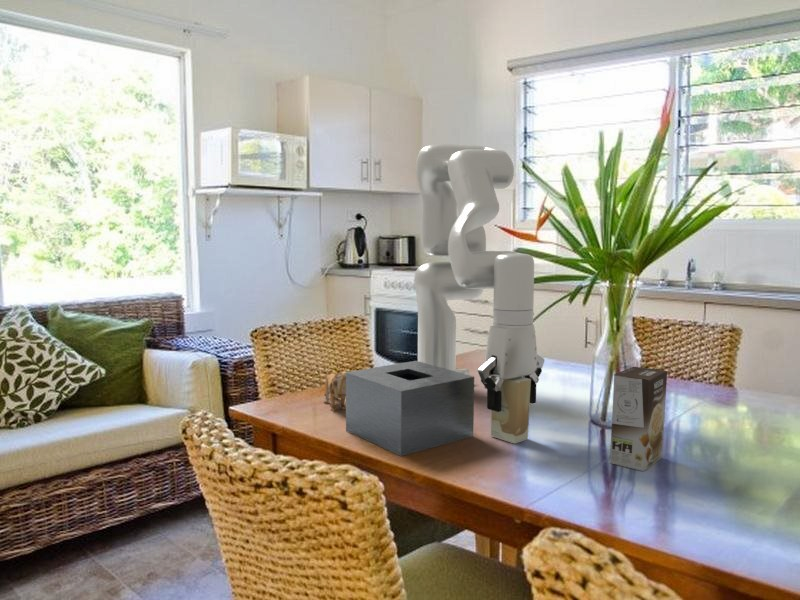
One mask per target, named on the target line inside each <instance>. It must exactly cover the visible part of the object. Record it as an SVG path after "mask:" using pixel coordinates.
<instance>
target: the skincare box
mask: <svg viewBox="0 0 800 600" xmlns="http://www.w3.org/2000/svg"><path fill="white" fill-rule="evenodd" d="M496 381H497V379H495V380H494V383H495V382H496ZM530 388H531V379H529V378H524V377H518V378H513V379H508V380H504V381H503V383H502V385H501V387H500V389H499V391H501V392H502V402H501V411H500V412H496V411H493V410H491V418H490V419H491V420H490V436H491V437H493V438H497V439H499V440H502V441H505V442H509V443H512V444H515V445H516V444H518V443H521V442H523V441H527V440H528V439H529V438H528V437H529V425H530V424H529V420H530V404H531V403H530Z"/></svg>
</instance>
